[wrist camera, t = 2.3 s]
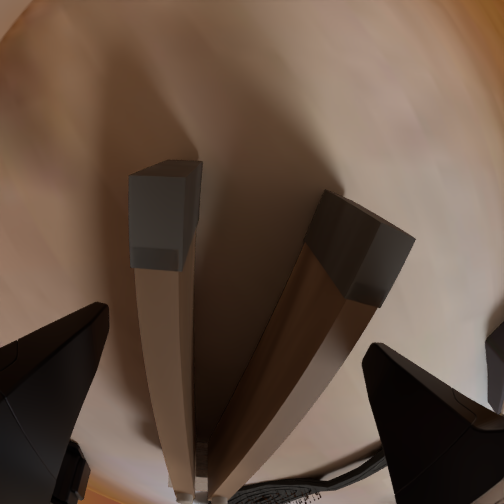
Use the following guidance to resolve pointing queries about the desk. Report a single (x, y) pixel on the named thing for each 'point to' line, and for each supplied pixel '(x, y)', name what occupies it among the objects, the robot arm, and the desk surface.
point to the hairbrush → (304, 485)
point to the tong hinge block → (200, 468)
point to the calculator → (496, 369)
